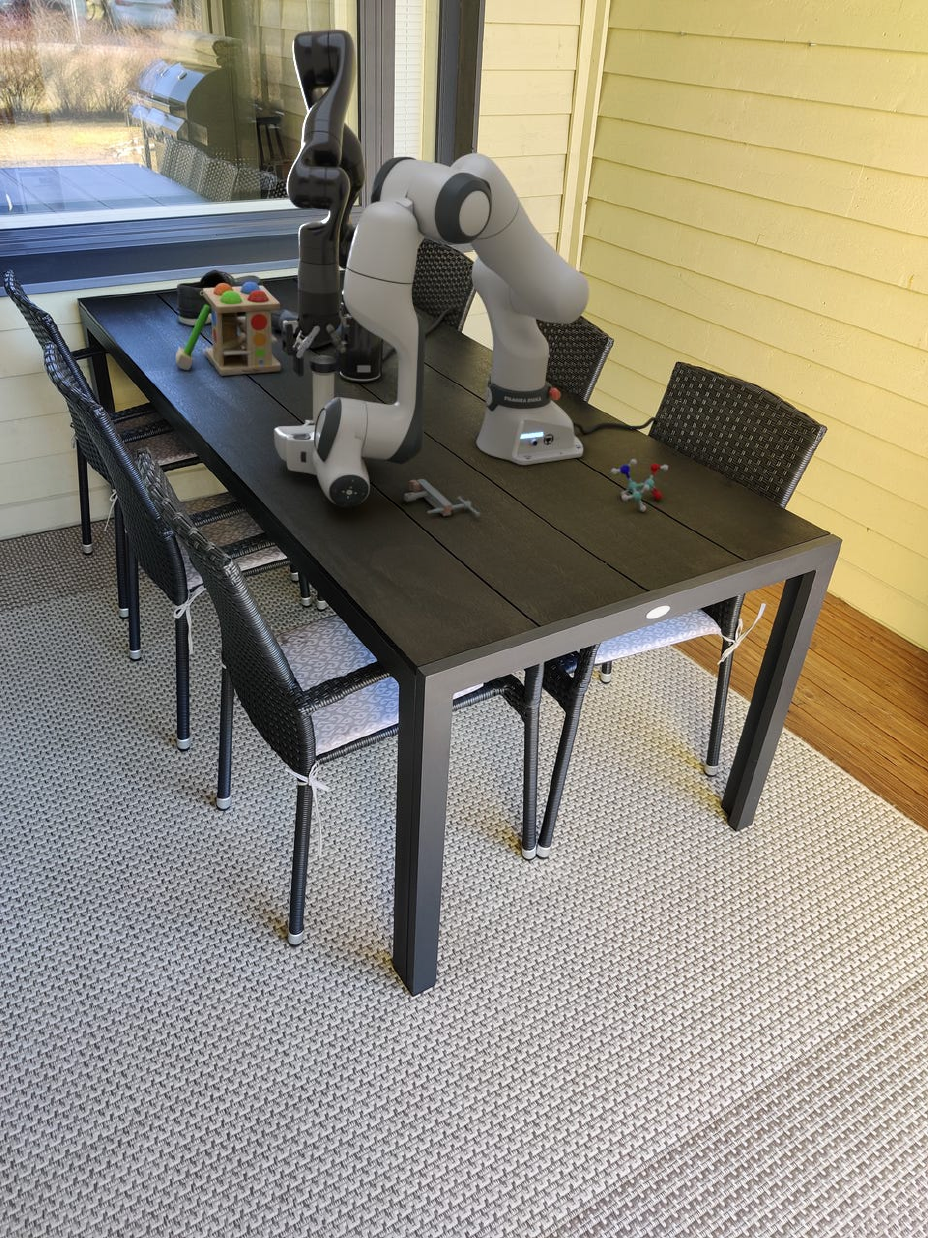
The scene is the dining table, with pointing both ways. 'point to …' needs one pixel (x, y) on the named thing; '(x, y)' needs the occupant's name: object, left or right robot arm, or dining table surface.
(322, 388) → the white cylindrical bottle
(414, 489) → the clamp
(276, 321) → the power drill
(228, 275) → the boat shoe
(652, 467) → the molecular model
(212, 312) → the pounding bench toy
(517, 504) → the dining table surface
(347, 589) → the dining table surface
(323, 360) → the lid
